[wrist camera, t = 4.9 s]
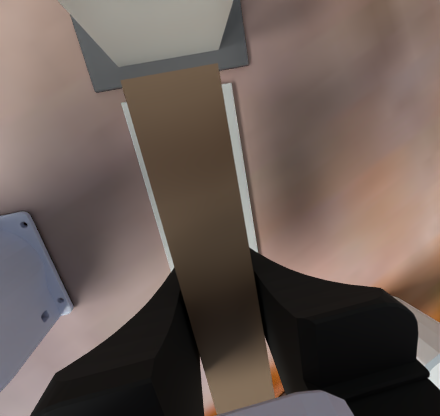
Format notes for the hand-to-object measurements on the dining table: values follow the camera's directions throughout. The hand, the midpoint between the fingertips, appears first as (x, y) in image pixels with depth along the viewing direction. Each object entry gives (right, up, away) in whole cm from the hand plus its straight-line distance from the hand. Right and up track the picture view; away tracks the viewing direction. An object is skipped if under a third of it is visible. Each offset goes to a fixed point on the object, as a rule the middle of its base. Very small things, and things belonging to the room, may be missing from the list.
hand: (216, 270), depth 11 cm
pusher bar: (0, 0, +1) cm, 1 cm away
